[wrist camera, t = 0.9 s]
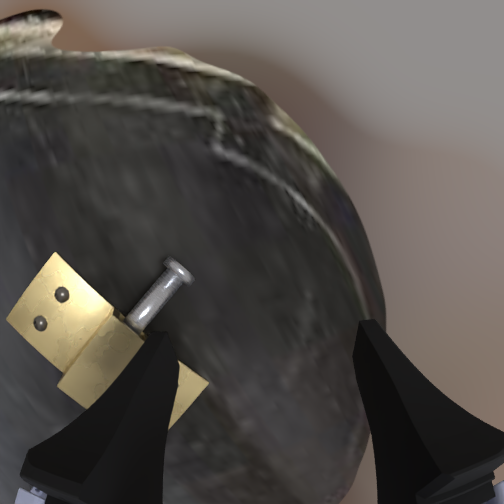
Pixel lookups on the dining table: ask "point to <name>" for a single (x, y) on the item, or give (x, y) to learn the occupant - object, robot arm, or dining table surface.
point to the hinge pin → (158, 295)
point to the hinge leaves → (85, 336)
